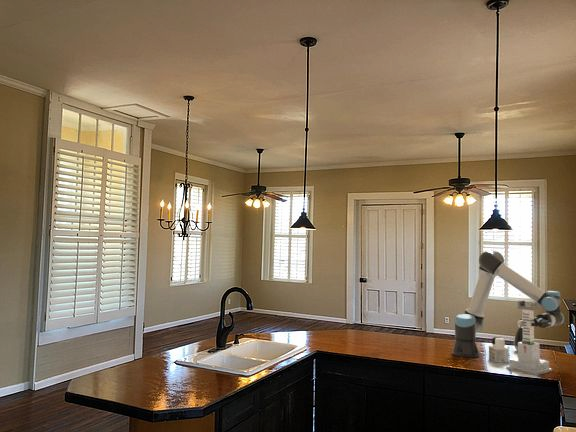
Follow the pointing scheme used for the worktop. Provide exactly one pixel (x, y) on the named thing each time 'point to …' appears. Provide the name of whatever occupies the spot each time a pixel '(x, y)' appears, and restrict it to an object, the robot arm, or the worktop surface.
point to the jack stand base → (529, 360)
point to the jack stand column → (528, 320)
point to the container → (498, 350)
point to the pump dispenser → (518, 337)
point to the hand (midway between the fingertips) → (522, 324)
